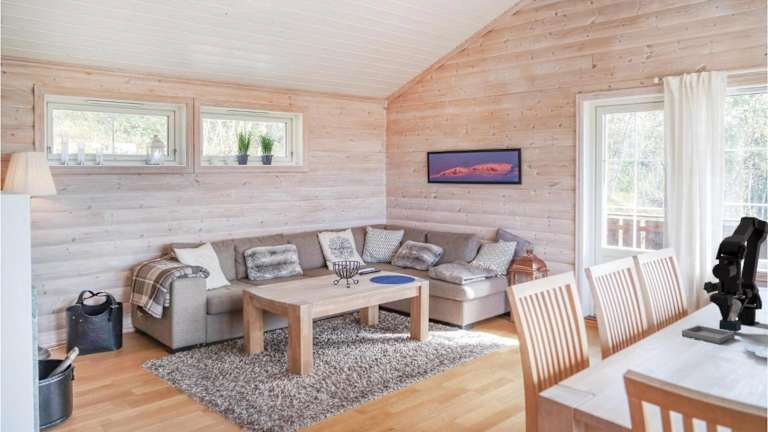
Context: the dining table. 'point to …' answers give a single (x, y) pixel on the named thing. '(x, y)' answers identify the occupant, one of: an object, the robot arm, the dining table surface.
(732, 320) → the watch
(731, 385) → the dining table surface
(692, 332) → the tray
